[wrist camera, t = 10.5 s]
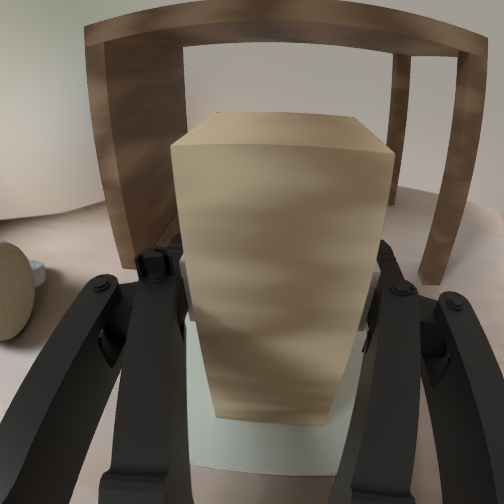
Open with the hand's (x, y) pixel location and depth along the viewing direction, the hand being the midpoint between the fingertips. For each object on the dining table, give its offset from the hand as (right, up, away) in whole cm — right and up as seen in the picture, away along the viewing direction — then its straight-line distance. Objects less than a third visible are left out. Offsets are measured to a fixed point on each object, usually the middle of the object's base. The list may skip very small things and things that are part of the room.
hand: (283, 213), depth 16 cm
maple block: (0, -8, -1) cm, 8 cm away
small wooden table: (+1, +1, +14) cm, 14 cm away
